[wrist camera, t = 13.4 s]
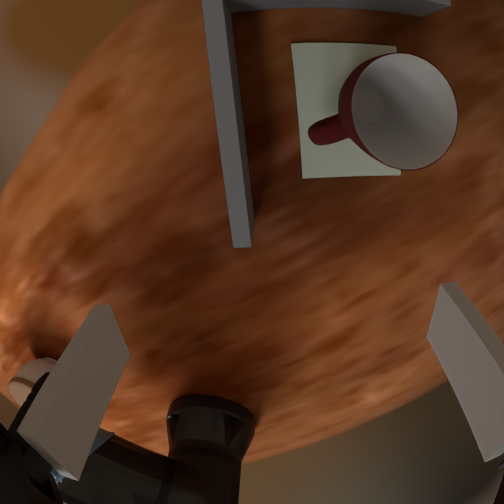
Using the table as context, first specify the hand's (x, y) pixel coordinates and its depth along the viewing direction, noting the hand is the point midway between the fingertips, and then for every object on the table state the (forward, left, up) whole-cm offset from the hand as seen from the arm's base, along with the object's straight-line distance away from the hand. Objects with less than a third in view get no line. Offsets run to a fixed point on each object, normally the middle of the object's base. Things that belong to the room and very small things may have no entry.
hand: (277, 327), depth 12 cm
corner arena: (+7, -6, -21) cm, 23 cm away
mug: (+6, -8, -21) cm, 23 cm away
